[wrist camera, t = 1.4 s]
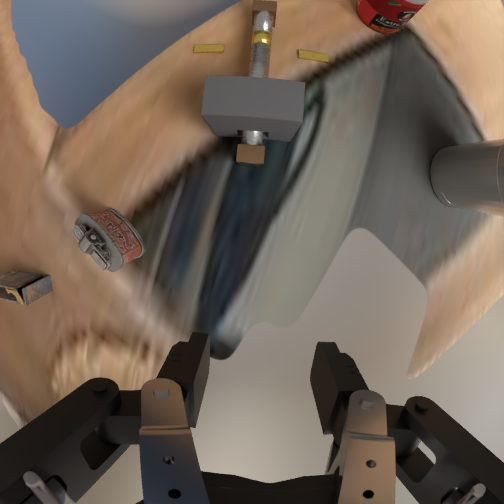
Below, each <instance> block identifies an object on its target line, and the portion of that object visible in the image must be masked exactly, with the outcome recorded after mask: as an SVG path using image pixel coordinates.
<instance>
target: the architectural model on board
mask: <svg viewBox="0 0 504 504" xmlns="http://www.w3.org/2000/svg"><path fill="white" fill-rule="evenodd" d="M40 277H42V275H41V274H40V275H39V274H30V273H22V272H16V271H10V272H8V273H5V274H3V275H1V276H0V299H1V300H5V301H9V302H13V303H18V304H20V305H28V304H30V303H32V302H33V301H35V300H37V299H38V298H40V297H42V296H43V295H45V294H47V293H49V292H50V291H52V284H51V278H50V275H49V276H47V277H44V278H42V279H40V280H38V281H36V282H34V283H32V284H30V285H25V284H27V283H29V282H32V281H34V280H36V279H38V278H40Z"/></svg>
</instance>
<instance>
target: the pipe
mask: <svg viewBox="0 0 504 504" xmlns="http://www.w3.org/2000/svg"><path fill="white" fill-rule="evenodd" d="M276 9H277V2H275V1H262V0H254V2H253V9H252V14H253V35H252V43H251V52H250V61H249V71H248V77H260V78H268V74H269V62H270V51H271V39H272V27H275V19H276ZM194 53H224V44H210V45H195V48H194ZM299 58H301V59H307V60H314V61H320V62H325V63H328V55H327V54H321V53H316V52H309V51H303V50H299ZM262 144H263V132H259V131H246V130H243V131H242V141H241V144H238V147H237V158H236V162H237V163H238V165H247V166H260V167H263V164H264V153H265V146H262Z"/></svg>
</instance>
